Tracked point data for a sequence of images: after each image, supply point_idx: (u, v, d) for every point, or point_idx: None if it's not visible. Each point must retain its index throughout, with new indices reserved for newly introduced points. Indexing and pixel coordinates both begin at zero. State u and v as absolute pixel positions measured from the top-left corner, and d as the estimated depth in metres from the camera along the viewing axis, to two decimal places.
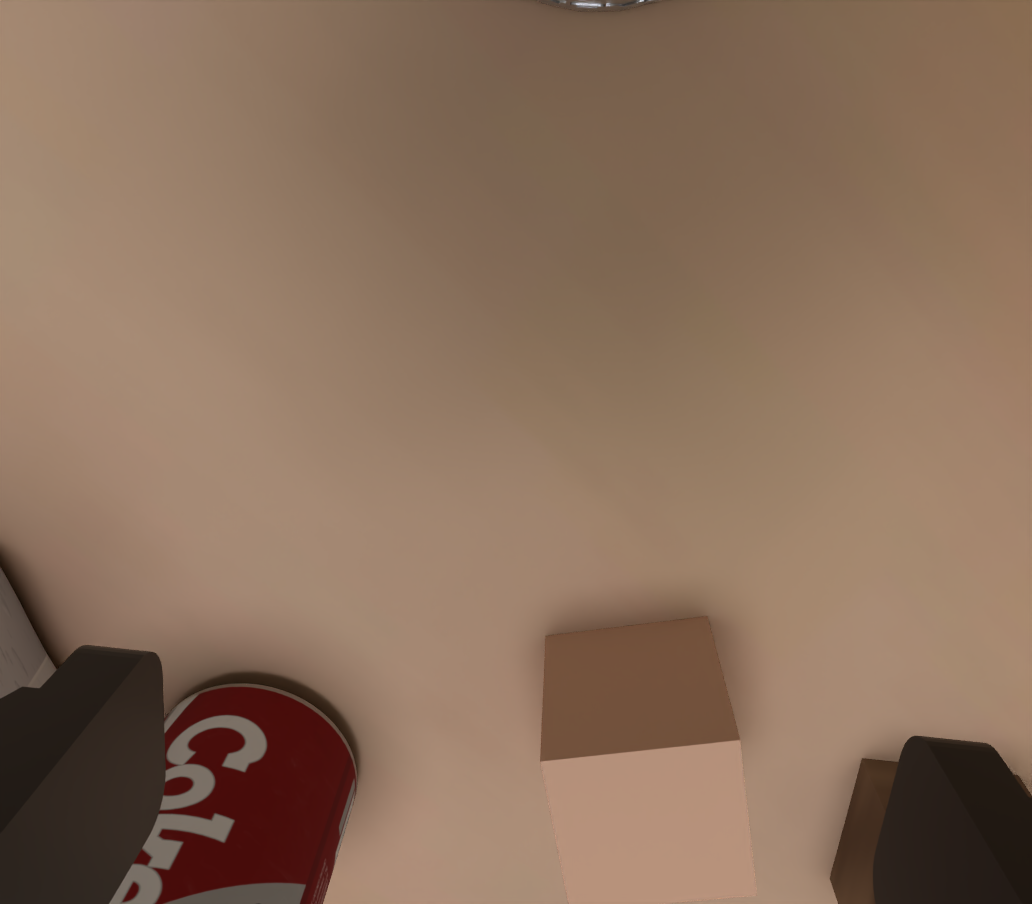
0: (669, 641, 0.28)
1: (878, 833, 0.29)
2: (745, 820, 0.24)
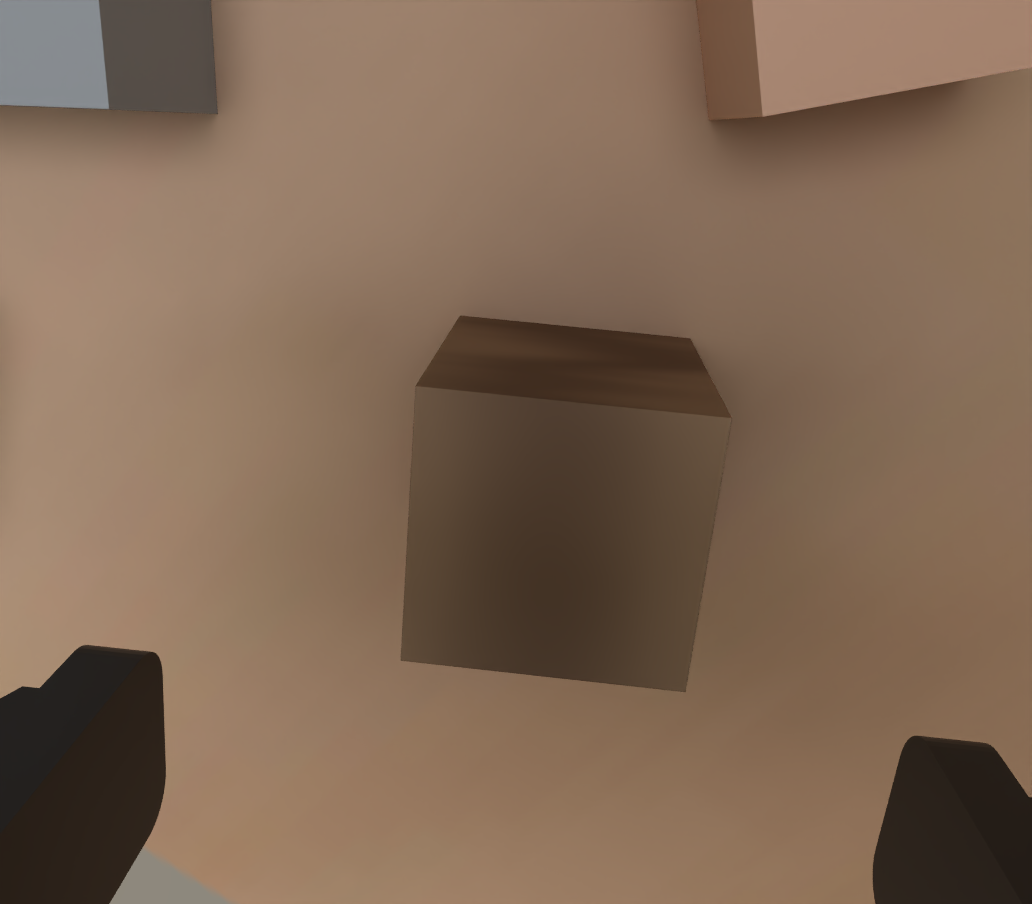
0: None
1: (657, 359, 0.18)
2: (945, 76, 0.13)
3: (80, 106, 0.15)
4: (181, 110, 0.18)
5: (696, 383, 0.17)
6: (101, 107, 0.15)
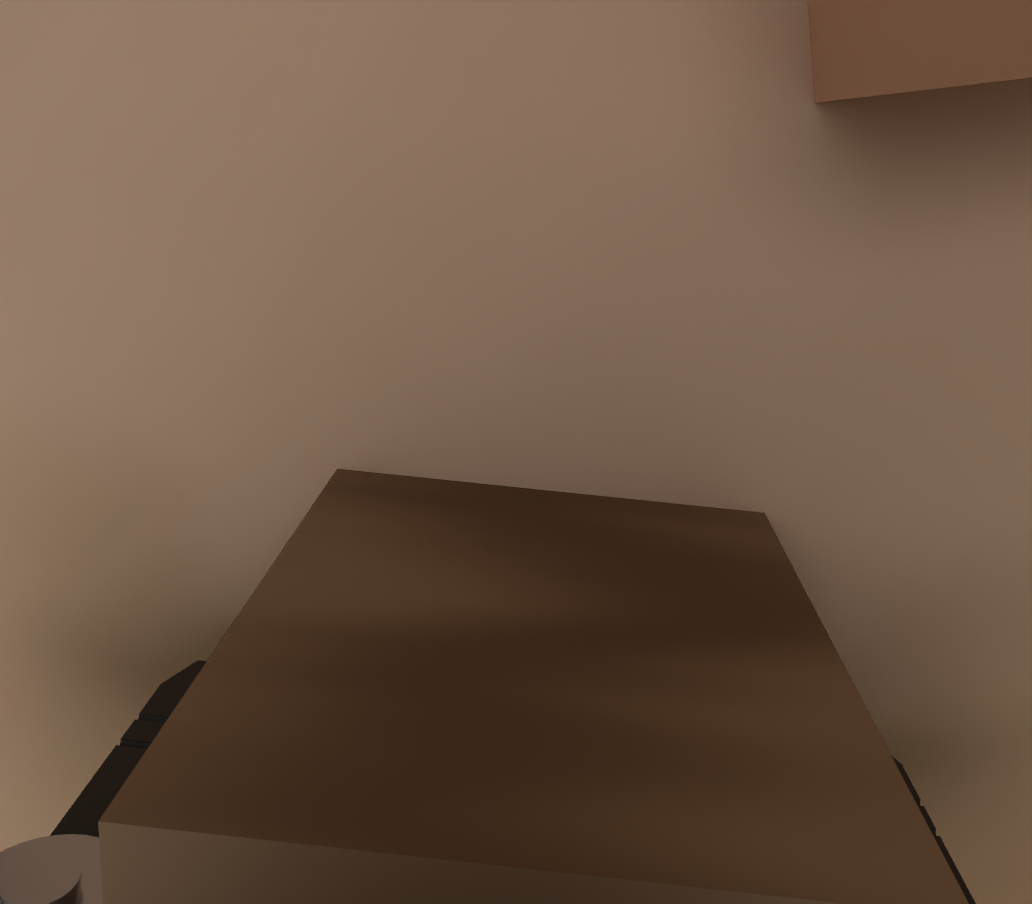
0: None
1: (720, 603, 0.09)
2: None
3: None
4: None
5: (825, 705, 0.07)
6: None
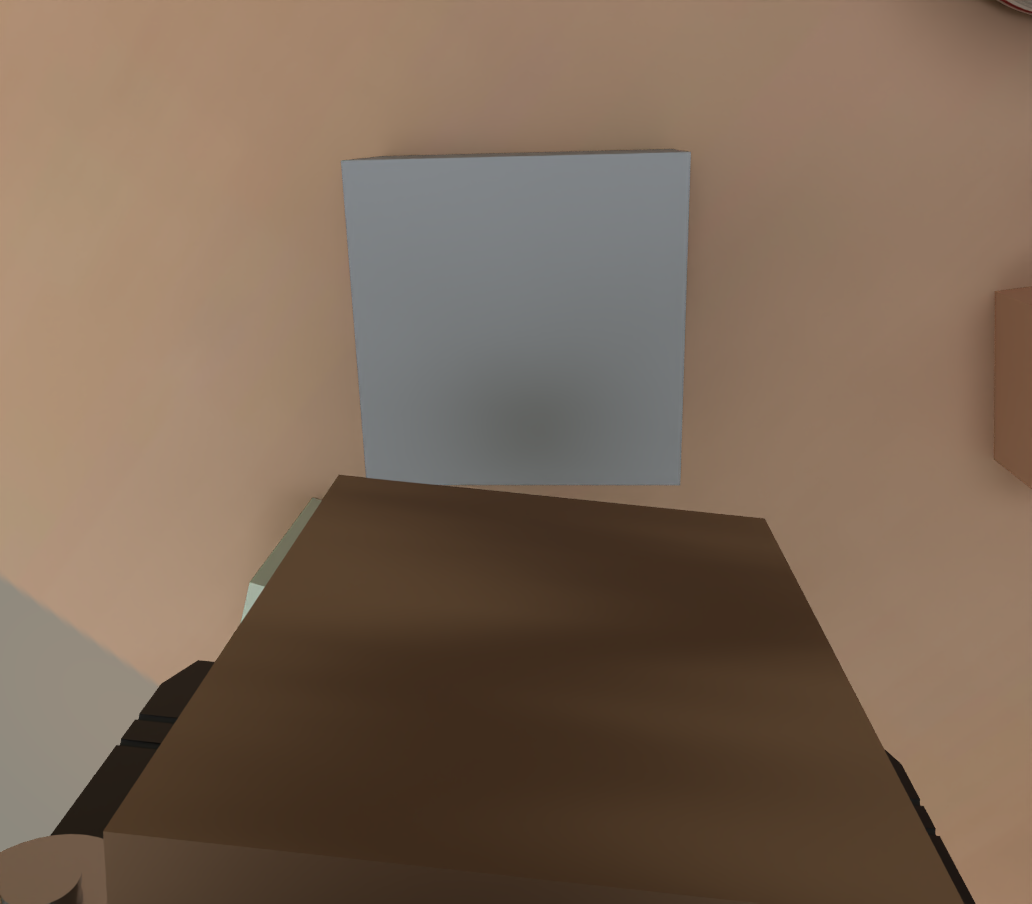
0: None
1: (721, 609, 0.09)
2: None
3: (661, 484, 0.24)
4: None
5: (825, 711, 0.07)
6: (674, 484, 0.24)
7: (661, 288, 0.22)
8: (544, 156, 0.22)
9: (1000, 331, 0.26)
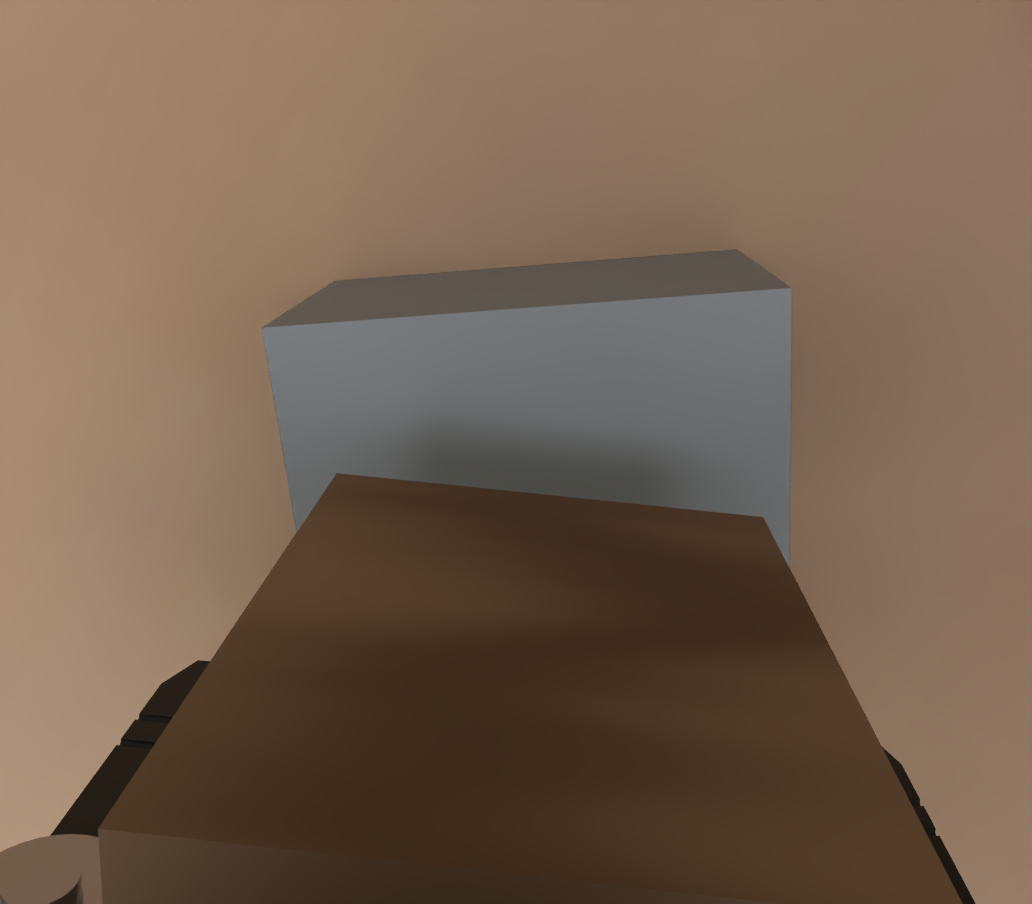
0: None
1: (719, 607, 0.09)
2: None
3: None
4: None
5: (823, 711, 0.07)
6: None
7: (753, 484, 0.15)
8: (568, 305, 0.14)
9: None
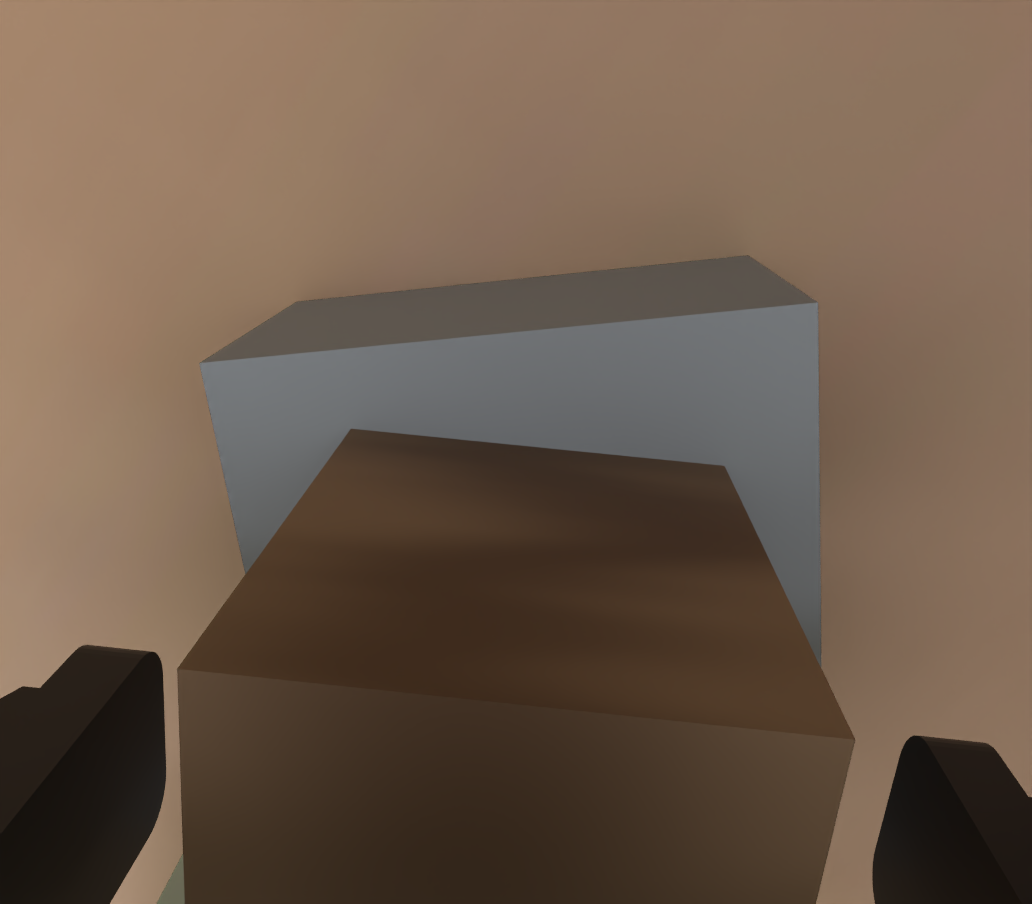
0: None
1: (678, 531, 0.10)
2: None
3: None
4: None
5: (758, 603, 0.09)
6: None
7: (777, 530, 0.13)
8: (555, 329, 0.12)
9: None
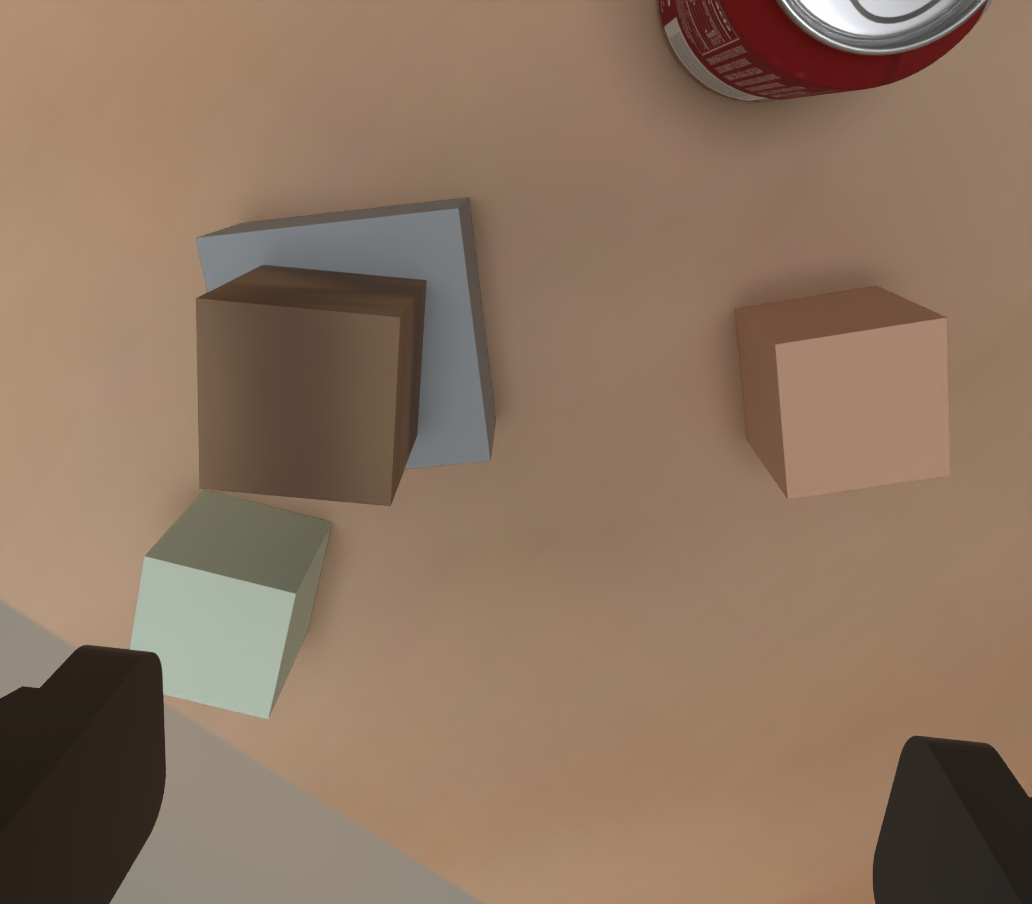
0: None
1: (386, 290, 0.27)
2: (868, 484, 0.30)
3: (476, 461, 0.31)
4: (493, 432, 0.34)
5: (398, 301, 0.25)
6: (486, 460, 0.31)
7: (452, 312, 0.29)
8: (349, 221, 0.28)
9: (739, 340, 0.34)
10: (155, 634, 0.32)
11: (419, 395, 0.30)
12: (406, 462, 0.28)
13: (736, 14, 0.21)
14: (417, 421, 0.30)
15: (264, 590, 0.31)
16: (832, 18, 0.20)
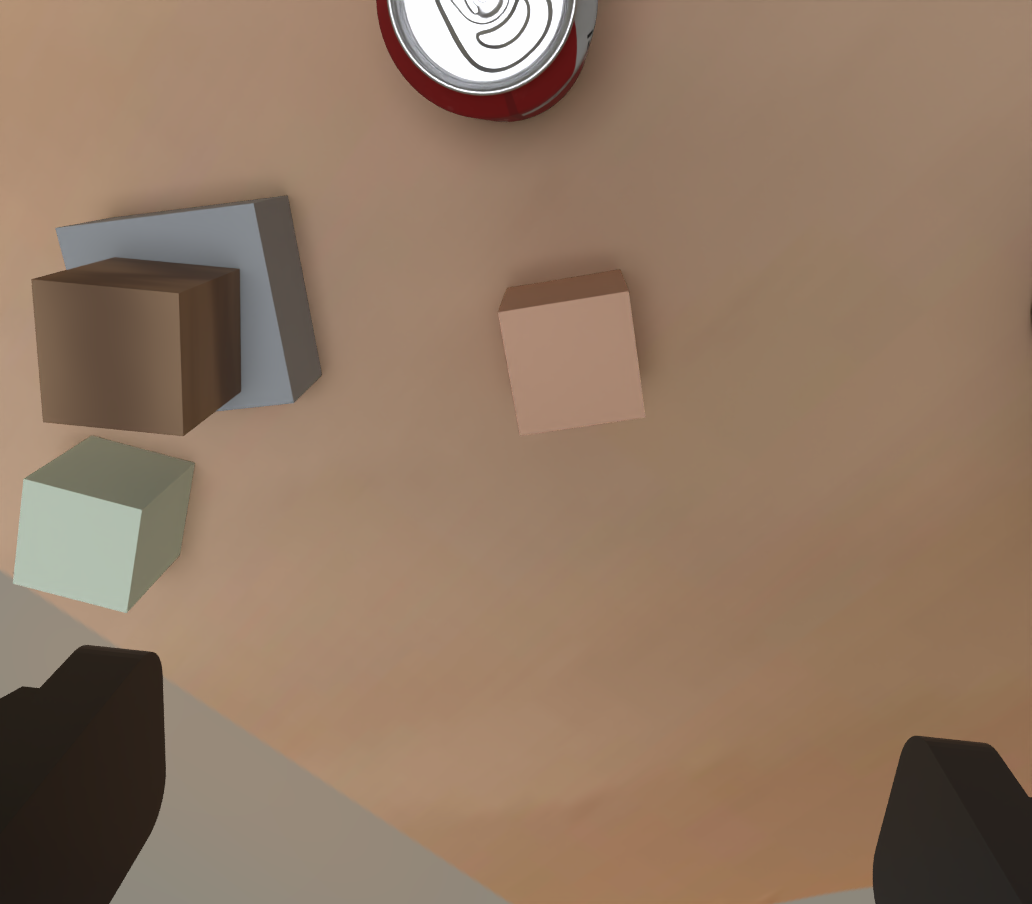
0: None
1: (193, 275, 0.35)
2: (582, 424, 0.37)
3: (282, 403, 0.39)
4: (311, 384, 0.42)
5: (192, 283, 0.33)
6: (290, 402, 0.39)
7: (255, 284, 0.37)
8: (171, 213, 0.37)
9: None
10: (35, 542, 0.40)
11: (240, 359, 0.38)
12: (216, 408, 0.36)
13: (398, 65, 0.29)
14: (239, 380, 0.38)
15: (117, 506, 0.39)
16: (452, 69, 0.28)
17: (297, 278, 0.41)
